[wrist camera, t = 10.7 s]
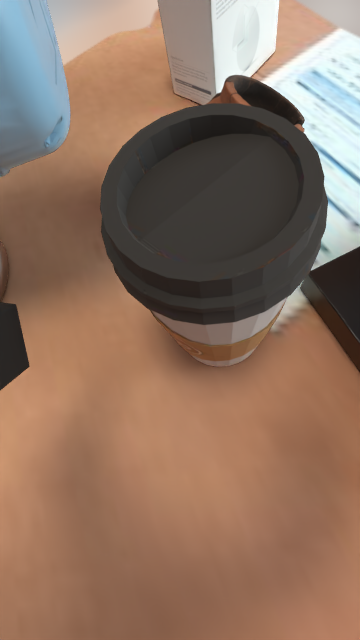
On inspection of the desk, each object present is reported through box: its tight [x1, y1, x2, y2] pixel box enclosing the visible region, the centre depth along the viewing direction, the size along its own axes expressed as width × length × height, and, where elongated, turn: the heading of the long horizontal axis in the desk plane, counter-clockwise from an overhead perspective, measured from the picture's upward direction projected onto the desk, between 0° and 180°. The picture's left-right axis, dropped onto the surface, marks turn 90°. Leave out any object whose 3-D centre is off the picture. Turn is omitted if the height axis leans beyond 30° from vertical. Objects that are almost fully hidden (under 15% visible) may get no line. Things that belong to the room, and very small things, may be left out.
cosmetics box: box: [158, 0, 279, 105], centre depth 29 cm, size 10×6×10 cm, turn 140°
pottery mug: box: [207, 75, 305, 132], centre depth 26 cm, size 12×10×8 cm
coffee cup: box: [100, 103, 328, 367], centre depth 17 cm, size 8×8×15 cm
